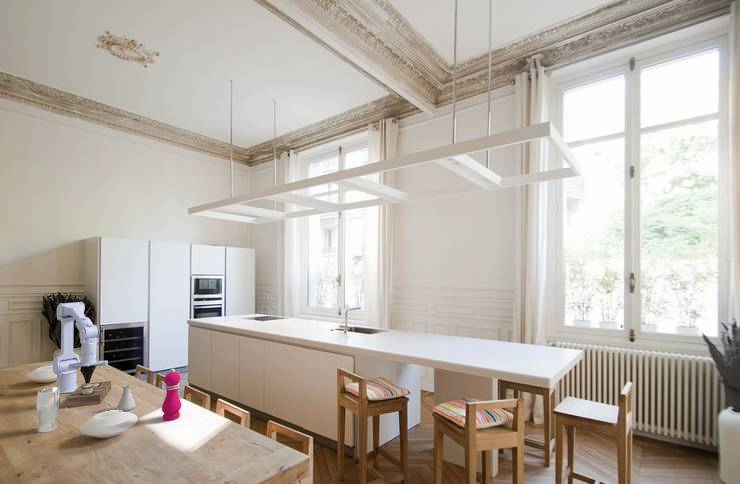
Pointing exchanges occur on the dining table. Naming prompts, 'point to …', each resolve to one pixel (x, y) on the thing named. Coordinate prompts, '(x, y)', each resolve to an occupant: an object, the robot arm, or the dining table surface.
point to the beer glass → (47, 408)
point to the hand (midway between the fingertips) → (87, 382)
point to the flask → (126, 399)
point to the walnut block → (91, 399)
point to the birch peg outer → (87, 389)
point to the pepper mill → (171, 397)
